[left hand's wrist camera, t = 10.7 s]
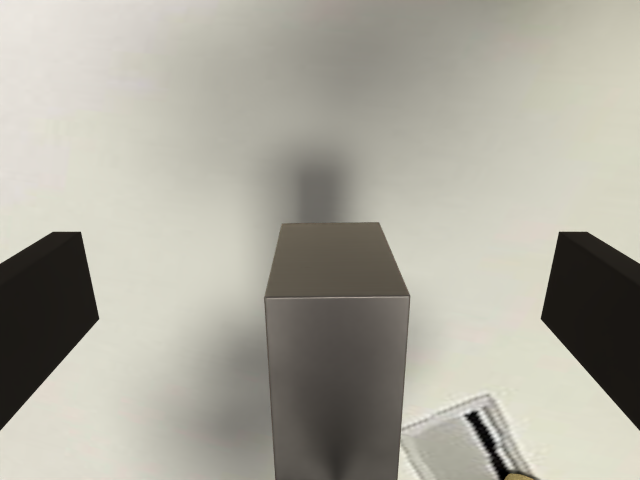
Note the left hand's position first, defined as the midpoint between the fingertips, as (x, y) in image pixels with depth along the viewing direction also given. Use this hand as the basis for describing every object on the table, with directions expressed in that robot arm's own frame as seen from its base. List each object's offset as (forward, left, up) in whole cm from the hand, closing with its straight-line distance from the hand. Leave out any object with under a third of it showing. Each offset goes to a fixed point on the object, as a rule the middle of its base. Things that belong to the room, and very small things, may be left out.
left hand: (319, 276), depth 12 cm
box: (+6, +13, -15) cm, 21 cm away
